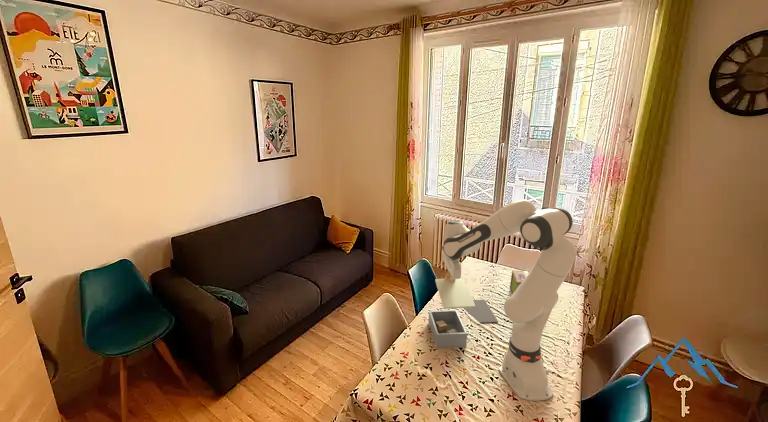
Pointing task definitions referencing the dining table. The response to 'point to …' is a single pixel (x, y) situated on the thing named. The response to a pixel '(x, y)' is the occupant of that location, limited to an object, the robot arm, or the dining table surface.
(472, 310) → the mat
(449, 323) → the tub
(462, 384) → the dining table surface
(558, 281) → the robot arm
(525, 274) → the tea box
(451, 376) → the dining table surface
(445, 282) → the lid
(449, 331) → the part block
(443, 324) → the part block
